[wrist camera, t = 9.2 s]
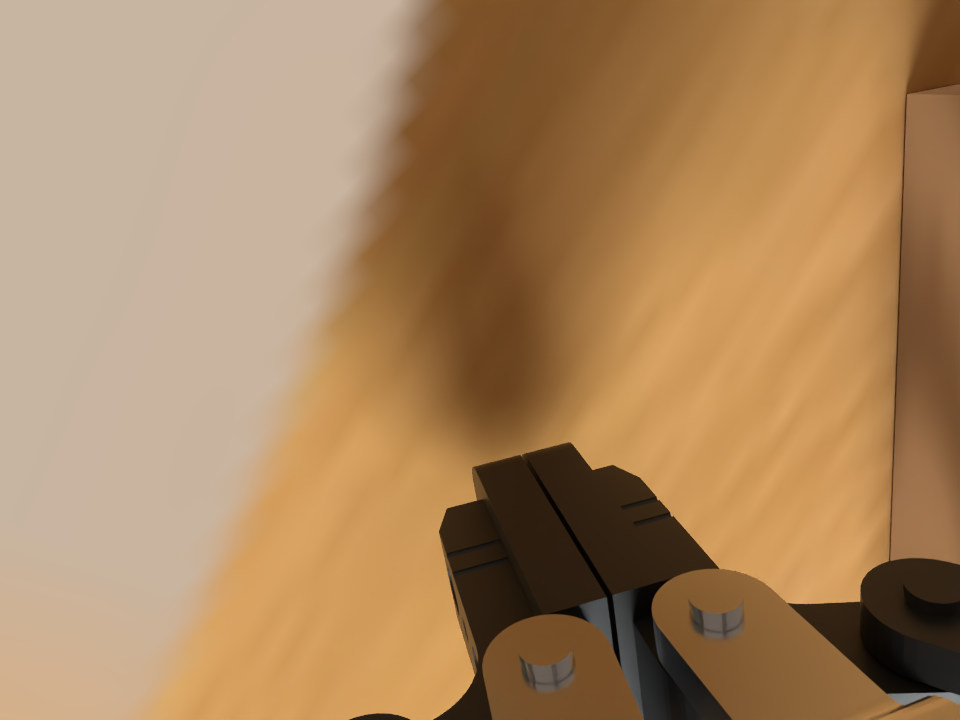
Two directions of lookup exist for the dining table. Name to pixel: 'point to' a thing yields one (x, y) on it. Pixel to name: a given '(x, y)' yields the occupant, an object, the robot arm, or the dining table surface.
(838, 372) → the dining table surface
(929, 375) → the pallet
